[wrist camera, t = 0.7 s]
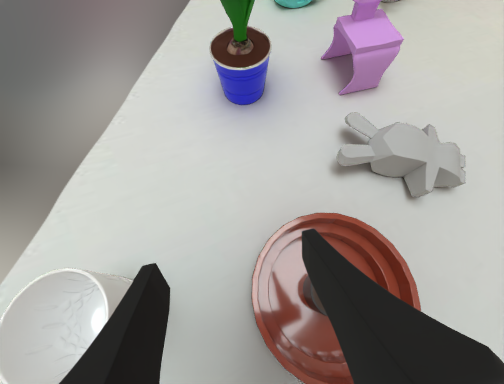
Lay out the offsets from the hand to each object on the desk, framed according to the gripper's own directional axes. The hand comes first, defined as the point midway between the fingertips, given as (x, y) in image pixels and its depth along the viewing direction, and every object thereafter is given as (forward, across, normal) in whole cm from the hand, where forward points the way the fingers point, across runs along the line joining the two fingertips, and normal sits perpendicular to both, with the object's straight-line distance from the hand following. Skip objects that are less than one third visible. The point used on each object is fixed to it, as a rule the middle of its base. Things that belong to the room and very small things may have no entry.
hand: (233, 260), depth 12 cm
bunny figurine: (+17, -22, +8) cm, 29 cm away
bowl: (+6, -8, +15) cm, 18 cm away
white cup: (+8, +14, +14) cm, 22 cm away
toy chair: (+31, -22, -1) cm, 38 cm away
